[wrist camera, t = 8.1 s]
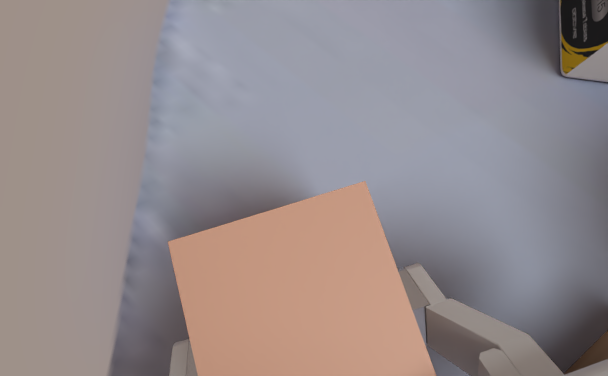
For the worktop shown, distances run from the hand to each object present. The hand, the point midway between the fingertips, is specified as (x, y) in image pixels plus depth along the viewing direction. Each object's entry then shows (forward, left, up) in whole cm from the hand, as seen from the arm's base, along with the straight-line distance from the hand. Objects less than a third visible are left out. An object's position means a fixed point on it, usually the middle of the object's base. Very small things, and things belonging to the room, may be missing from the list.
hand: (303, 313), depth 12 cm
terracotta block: (0, 0, -4) cm, 4 cm away
